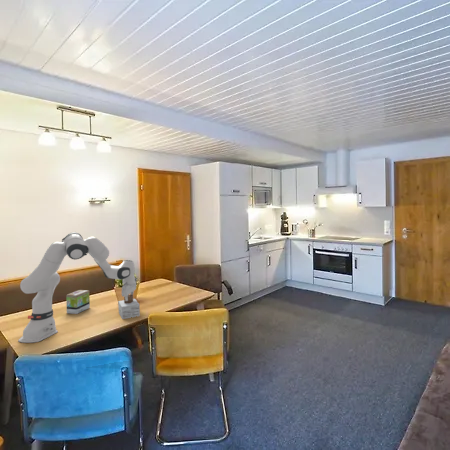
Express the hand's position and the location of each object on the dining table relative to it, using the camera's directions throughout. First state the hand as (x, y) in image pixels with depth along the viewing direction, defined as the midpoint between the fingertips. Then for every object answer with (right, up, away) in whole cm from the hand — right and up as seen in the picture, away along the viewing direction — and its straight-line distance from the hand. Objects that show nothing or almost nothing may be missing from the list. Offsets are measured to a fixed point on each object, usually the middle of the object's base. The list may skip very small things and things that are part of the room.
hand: (129, 298), depth 228 cm
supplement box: (0, -12, 0) cm, 12 cm away
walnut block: (0, -3, 0) cm, 3 cm away
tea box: (-43, -12, +9) cm, 46 cm away
